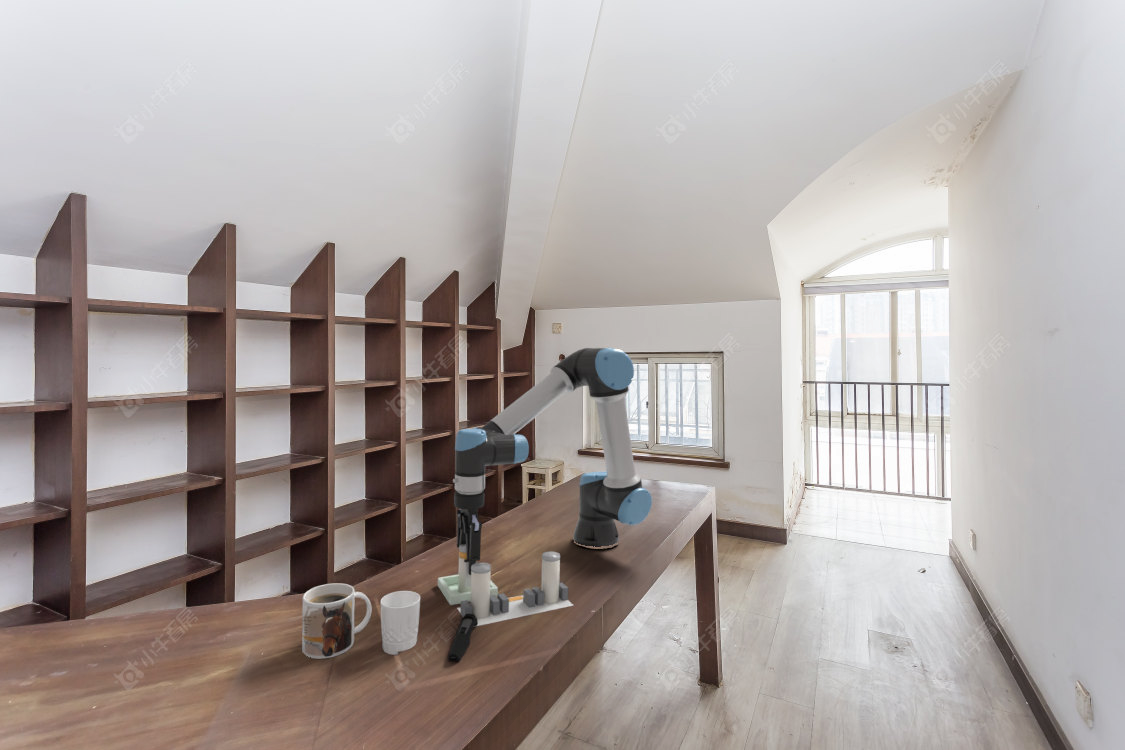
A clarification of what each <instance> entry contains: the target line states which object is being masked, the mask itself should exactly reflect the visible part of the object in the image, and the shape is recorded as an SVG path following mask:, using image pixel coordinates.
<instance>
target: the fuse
mask: <svg viewBox="0 0 1125 750" xmlns="http://www.w3.org/2000/svg"><path fill="white" fill-rule="evenodd" d="M491 571H492V565H491V564H490V563H488V562H477V563H475V564H473V565H472V566H471V602H470V605H471V606H472V614H473V615H475V616H476V618H477V619H481V618H486V617H488V616H489V614H490V580H491Z"/></svg>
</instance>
